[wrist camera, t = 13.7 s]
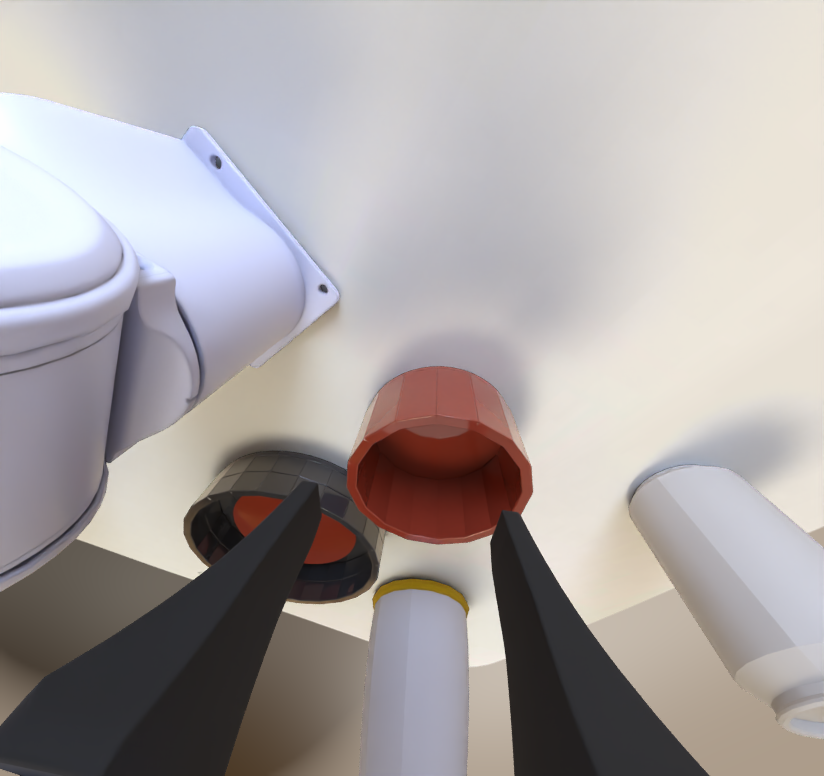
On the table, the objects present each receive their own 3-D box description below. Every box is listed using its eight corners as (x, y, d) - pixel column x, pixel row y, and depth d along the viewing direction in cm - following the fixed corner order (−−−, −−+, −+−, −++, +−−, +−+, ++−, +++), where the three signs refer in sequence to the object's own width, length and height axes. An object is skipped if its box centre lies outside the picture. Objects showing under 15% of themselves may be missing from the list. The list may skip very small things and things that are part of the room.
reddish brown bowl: (337, 413, 21) (309, 469, 16) (460, 335, 17) (469, 379, 13) (421, 496, 25) (417, 559, 20) (536, 446, 21) (564, 511, 17)
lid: (214, 496, 26) (177, 543, 23) (310, 461, 23) (285, 509, 19) (292, 561, 31) (271, 609, 27) (381, 540, 28) (371, 591, 24)
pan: (182, 494, 28) (146, 534, 24) (294, 419, 22) (267, 458, 18) (307, 575, 34) (291, 616, 30) (420, 534, 28) (418, 579, 24)
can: (655, 534, 25) (806, 756, 15) (602, 493, 23) (735, 717, 13) (754, 491, 22) (1039, 740, 11) (703, 439, 20) (992, 684, 9)
